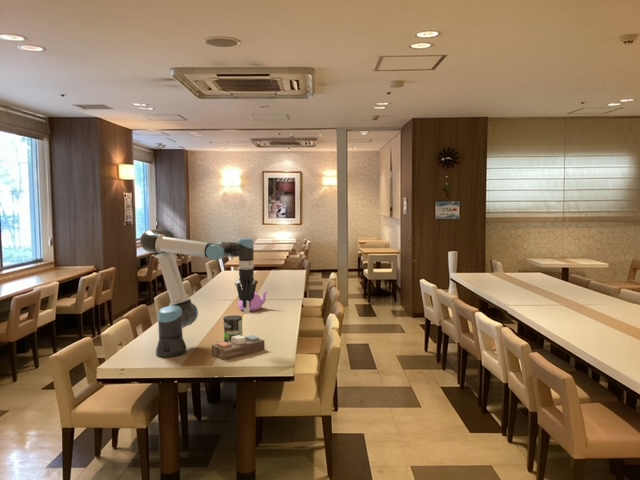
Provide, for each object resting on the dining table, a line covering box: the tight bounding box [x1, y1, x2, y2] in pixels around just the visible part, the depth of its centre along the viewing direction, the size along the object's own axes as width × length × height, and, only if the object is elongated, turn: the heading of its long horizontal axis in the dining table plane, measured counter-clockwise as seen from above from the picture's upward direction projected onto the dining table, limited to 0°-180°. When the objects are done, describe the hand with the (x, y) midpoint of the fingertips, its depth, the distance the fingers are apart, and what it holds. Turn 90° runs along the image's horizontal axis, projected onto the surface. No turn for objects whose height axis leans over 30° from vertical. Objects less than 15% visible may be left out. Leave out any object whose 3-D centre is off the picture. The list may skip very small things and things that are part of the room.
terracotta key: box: [216, 341, 231, 349], centre depth 251 cm, size 6×4×3 cm
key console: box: [211, 338, 266, 361], centre depth 257 cm, size 12×24×5 cm, turn 133°
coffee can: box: [223, 315, 244, 342], centre depth 274 cm, size 10×10×14 cm
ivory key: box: [231, 335, 246, 345], centre depth 257 cm, size 6×4×3 cm
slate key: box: [244, 334, 260, 342], centre depth 262 cm, size 6×4×3 cm
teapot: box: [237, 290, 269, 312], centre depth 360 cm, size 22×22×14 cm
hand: (246, 313), depth 261 cm, fingers closed
